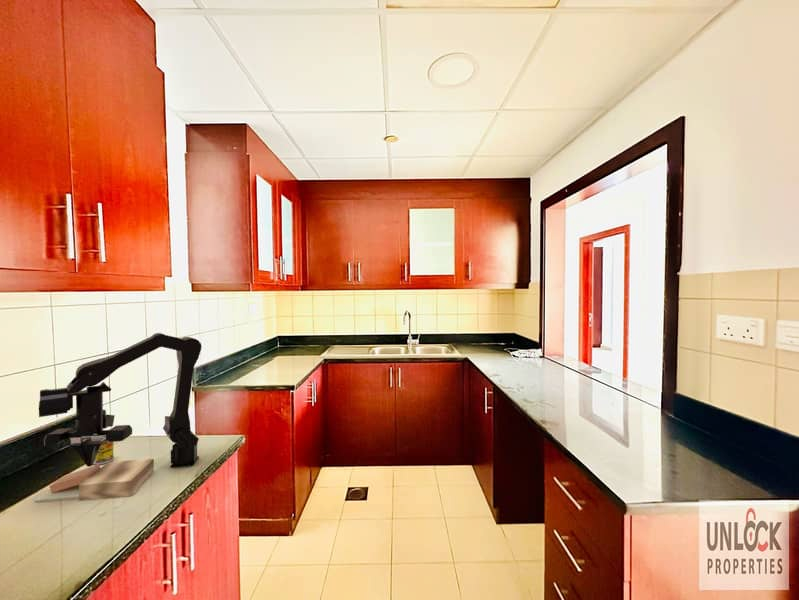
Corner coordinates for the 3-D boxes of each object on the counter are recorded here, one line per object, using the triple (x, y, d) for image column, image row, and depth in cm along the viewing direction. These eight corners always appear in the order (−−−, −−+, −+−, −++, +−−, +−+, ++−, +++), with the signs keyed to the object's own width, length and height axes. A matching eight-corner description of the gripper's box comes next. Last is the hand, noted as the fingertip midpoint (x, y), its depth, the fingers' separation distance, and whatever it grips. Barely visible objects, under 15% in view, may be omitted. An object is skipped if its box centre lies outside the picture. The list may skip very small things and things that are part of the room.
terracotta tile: (101, 470, 110) (99, 464, 110) (88, 481, 104) (86, 474, 104) (66, 482, 108) (64, 475, 108) (51, 493, 102) (49, 486, 102)
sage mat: (104, 477, 112) (104, 475, 112) (79, 498, 101) (79, 496, 101) (65, 480, 110) (65, 478, 110) (34, 502, 99) (34, 500, 99)
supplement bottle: (95, 467, 119) (94, 434, 119) (89, 462, 122) (88, 430, 122) (116, 460, 123) (116, 429, 123) (110, 456, 127) (109, 425, 127)
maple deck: (153, 472, 116) (153, 458, 116) (130, 495, 102) (130, 480, 102) (108, 475, 113) (108, 461, 113) (79, 500, 100) (79, 485, 100)
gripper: (141, 399, 116) (141, 451, 116) (69, 403, 112) (70, 456, 112) (122, 410, 105) (122, 468, 105) (42, 414, 101) (42, 474, 101)
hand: (90, 465), depth 106 cm, fingers closed
